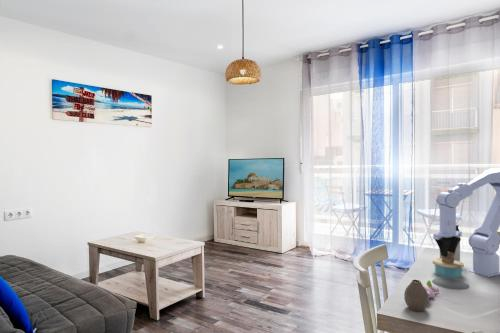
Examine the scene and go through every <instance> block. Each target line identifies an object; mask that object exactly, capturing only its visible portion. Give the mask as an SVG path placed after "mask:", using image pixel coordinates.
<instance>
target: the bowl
mask: <svg viewBox="0 0 500 333" xmlns="http://www.w3.org/2000/svg"><path fill="white" fill-rule="evenodd" d="M462 268H463V267H462ZM462 268H446V267H441V266H438V265H435V264H434V273H435V275H438V276H441V277H444V278H445V277H446V278H452V279H453V278H454V279H457V278H461V277H463V276H462V275H463V272H462Z"/></svg>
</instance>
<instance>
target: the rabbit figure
mask: <svg viewBox="0 0 500 333" xmlns="http://www.w3.org/2000/svg"><path fill="white" fill-rule="evenodd" d="M431 282H432V281H431V280H430V279H429V280H427V281H426V285H427V286H424V288H425V289H426V291H427V293H428V296H429V299H433V298H435V297H436V295H440V294H441V292H440V291H439V290H440V289H439V287H434V286H433V283H431Z"/></svg>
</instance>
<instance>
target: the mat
mask: <svg viewBox="0 0 500 333" xmlns="http://www.w3.org/2000/svg"><path fill="white" fill-rule="evenodd" d="M431 282H432V283H431V284H434V285H435V286H438V287H440V288H444V289H449V290H459V291H460V290H461V291H462V290H468V289H469V288H470V285H469V284H467V283H466V282H464V281H461V280H458V279H455V278H454V279H453V278H448V277H446V278H445V277H444V278H443V277H441V278H439V277H438V278H437V277H436V278H433V279H432V280H431Z"/></svg>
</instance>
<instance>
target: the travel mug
mask: <svg viewBox="0 0 500 333" xmlns="http://www.w3.org/2000/svg"><path fill="white" fill-rule="evenodd" d="M459 226H460V223H458V222H456V231H460V229H459ZM457 237H458V238H461V236H457ZM439 258H442V256H441V253H440V252H439ZM454 260H457V261H460V262H461V241H460V242H459V243H458V245H457V248H456V251H455V254H454Z"/></svg>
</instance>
